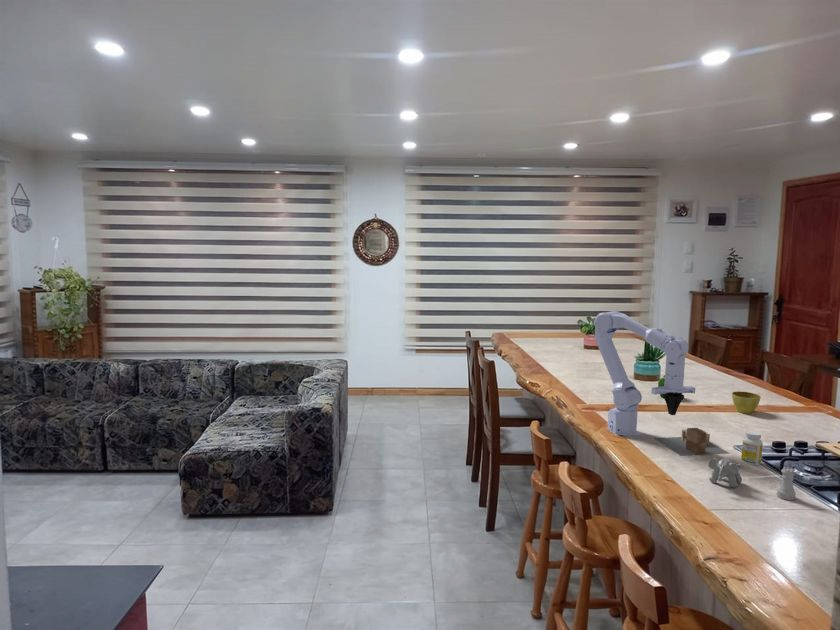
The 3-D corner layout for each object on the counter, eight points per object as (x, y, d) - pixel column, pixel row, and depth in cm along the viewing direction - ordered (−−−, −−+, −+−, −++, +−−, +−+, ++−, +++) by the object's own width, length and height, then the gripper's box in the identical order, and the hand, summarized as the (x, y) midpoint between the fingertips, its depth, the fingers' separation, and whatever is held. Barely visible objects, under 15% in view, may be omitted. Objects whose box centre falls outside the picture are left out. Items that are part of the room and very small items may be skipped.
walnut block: (695, 454, 179) (696, 433, 178) (685, 448, 184) (687, 428, 183) (705, 453, 179) (706, 432, 178) (695, 448, 184) (697, 427, 183)
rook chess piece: (788, 493, 152) (791, 465, 151) (799, 500, 148) (802, 472, 147) (772, 493, 152) (774, 465, 151) (783, 501, 148) (786, 472, 147)
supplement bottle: (748, 466, 170) (751, 436, 169) (736, 459, 176) (739, 430, 174) (765, 465, 171) (767, 435, 170) (753, 459, 176) (755, 429, 175)
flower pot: (763, 416, 219) (765, 398, 218) (735, 414, 221) (736, 397, 220) (753, 409, 229) (755, 392, 228) (726, 407, 231) (728, 390, 230)
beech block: (690, 434, 187) (709, 433, 188) (681, 429, 192) (700, 429, 192) (689, 444, 187) (709, 443, 188) (681, 439, 192) (699, 438, 193)
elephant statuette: (739, 481, 161) (741, 454, 160) (748, 496, 150) (750, 468, 149) (704, 476, 164) (705, 451, 163) (710, 491, 153) (711, 464, 152)
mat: (680, 456, 178) (680, 455, 178) (653, 439, 193) (653, 438, 193) (729, 454, 180) (729, 453, 180) (698, 437, 196) (698, 436, 196)
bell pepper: (673, 394, 250) (675, 373, 248) (680, 400, 242) (681, 377, 240) (654, 394, 251) (655, 372, 249) (660, 399, 242) (661, 376, 241)
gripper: (660, 378, 181) (658, 418, 183) (702, 377, 183) (699, 417, 184) (649, 373, 188) (646, 412, 189) (689, 372, 190) (686, 410, 191)
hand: (671, 414), depth 187 cm, fingers closed
